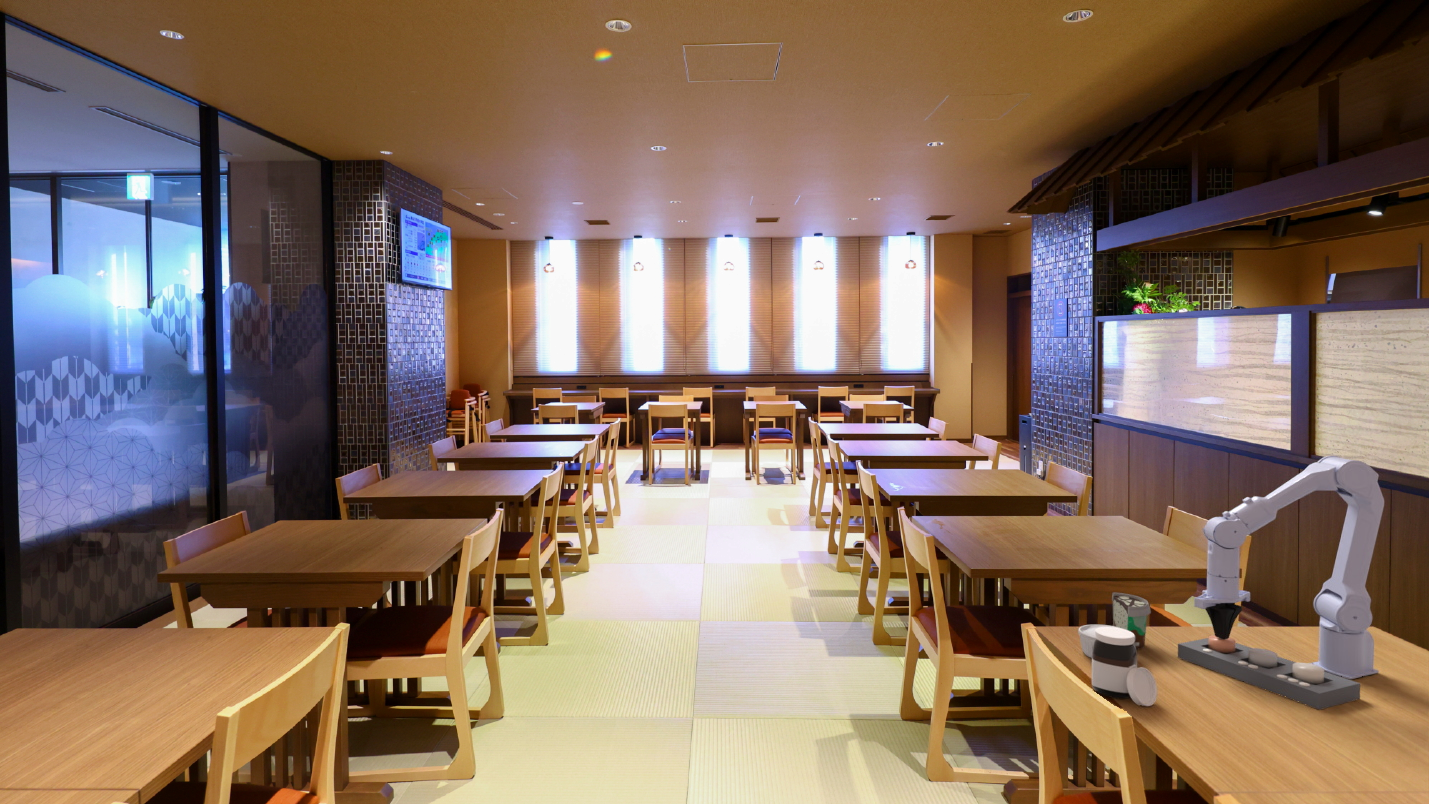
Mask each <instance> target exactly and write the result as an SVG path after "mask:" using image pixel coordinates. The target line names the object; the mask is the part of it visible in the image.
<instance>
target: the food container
mask: <svg viewBox="0 0 1429 804" xmlns="http://www.w3.org/2000/svg"><path fill="white" fill-rule="evenodd" d="M1111 601H1112V619H1113V620H1112V623H1113V624H1112V626H1115V627H1119V628H1123V629H1126V630H1128V631H1130V632H1132V633H1133V634H1134V635H1135V642H1134V645H1135V647H1136V650H1140V649H1143V648H1144V647H1145V642H1146V633H1147V623H1148V622H1147V621H1148V620H1147V619H1148V616H1149V615H1150V614H1151V613H1152V611H1151V610H1152V609H1151V606H1150V604H1149V602H1148V600H1147V599H1144V598H1143V597H1140V596H1137V595H1134V594H1128V593H1123V592H1112V596H1111Z"/></svg>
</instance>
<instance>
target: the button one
mask: <svg viewBox="0 0 1429 804" xmlns="http://www.w3.org/2000/svg"><path fill="white" fill-rule="evenodd" d="M1208 638H1209V645H1208V647H1209V649H1211V650H1214V651H1217V652H1221V653H1235V644H1236V643H1237V641H1236V640H1235V639H1234V638H1232V637H1230V636H1229V638H1228V639H1221V638H1218V637H1215V634H1214V635H1212V634H1211V635H1209V636H1208Z"/></svg>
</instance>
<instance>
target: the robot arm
mask: <svg viewBox="0 0 1429 804" xmlns="http://www.w3.org/2000/svg"><path fill="white" fill-rule="evenodd" d="M1379 476H1380V475H1379V474H1378V473H1377V471H1375V470H1374V469H1373V468H1372V467H1371V466H1370V465H1369V464H1367V463H1366V462H1365V461H1362V460H1354V459H1353V460H1352V459H1348V458H1343V457H1340V456H1337V455H1327V456H1324V457H1322V458H1320V459H1319V460H1318V461H1317V462H1313V463H1310V464H1308V466H1307V467H1306V468H1305V469H1304V470H1303V471H1301V472H1300V473H1297V475H1295V476H1294V477H1292V478H1291V479H1290V480H1287V482H1285V483H1283V484H1282V485H1281V486H1279V487H1277V488H1276V489H1275V490H1273V491H1272V492H1270V493H1268V494H1267V495H1266V496H1264V497H1263V496H1257V495H1256V496H1255V495H1253V497H1249V496H1247V497H1245V498H1244V499H1243V498H1242V503H1240V504H1239V505H1237V506H1236V507H1234V508H1232V509H1231V510H1229V511H1227V510H1225V511H1224V512H1222V513H1221V514H1222V516H1215V517H1212V518H1210V519H1209V520H1207V522H1206V524H1205V525H1204V527H1203V528H1202V533H1203V535H1204V537H1205V538H1206V539H1207V557H1206V558H1207V560H1206V561H1207V563H1206V565H1207V567H1206V589H1205V590H1202V592H1201V593H1202V594H1201V595H1198V596H1195V597H1194V598H1193V599H1194V600H1193V601H1194V604H1193V605H1194V607H1195V608H1198V609H1201V610H1205V611H1206V613H1207V615H1208V617H1209V619H1210V622H1211V626H1212V629H1213V632H1214V635H1215V637H1218V638H1221V639H1228V638H1229V637H1230V635H1231V632H1232V629H1233V626H1234V623H1235V621H1236V620H1237V618H1238V616H1239V615H1240V614H1241V613H1242V611H1243V606H1241V605H1238V604H1236V603H1239V602H1250V601H1251V592H1250V591H1247V590H1242V589H1241V590H1240V561H1241V560H1240V559H1241V558H1240V547H1241V546H1242V545H1243V544H1244V543H1245V541H1246V539H1247V537H1248V536H1249V535H1251V534H1252V533H1254V532H1257V530H1259V529H1261V528H1263V527H1264V526H1266V525H1267V524H1269V523H1271V522H1273V521H1274V520H1276V518H1277V514H1278V511H1279V510H1281V509H1283V508H1285V507H1286V506H1288V505H1290V504H1292V503H1294V502H1295V501H1297V500H1298V501H1299V499H1302V498H1304V497H1305V496H1308V495H1309V494H1311V493H1313V492H1316V491H1335V492H1337V494H1338V495H1339V497H1340V498H1342V499H1343V501H1344V502H1346V504H1347V509H1346V515H1345V518H1344V523H1343V527H1342V531H1341V537H1340V541H1339V543H1338V544H1339V545H1338V549H1337V553H1336V558H1335V562H1334V565H1333V571H1332V575H1331V577H1330V578H1328V579H1327V580H1326V581H1325V582H1323V584H1322V588H1321V590H1320V591H1319V593H1318V594H1316V596H1315V597H1314V599H1313V609H1314V611H1315V613H1316V614H1317V615H1319V634H1318V635H1319V636H1318V637H1319V638H1318V639H1319V640H1318V660H1317V661H1314V662H1310V663H1308V664H1313V665H1316V666H1319V667H1321V668H1323V669H1324V672H1327V673H1330V674H1333V675H1336V676H1339V677H1341V676H1342V678H1345V679H1349V680H1353V679H1354V680H1355V679H1357V678H1362V676H1363V677H1366V676H1370V675H1374V674H1379V670H1378V669H1376V668H1374V664H1375V663H1374V660H1375V659H1374V658H1375V640H1374V638H1373V635H1372V634H1371V632H1370V631H1369V630H1368V628H1369V627H1370V626H1371V624H1372V621H1373V613H1372V611H1371V603H1372V599H1371V597H1370V594H1369V592H1368V591H1367V587H1366V584H1367V583H1366V582H1367V578H1368V574H1369V569H1370V565H1371V563H1372V558H1373V554H1374V549H1375V546H1376V541H1377V537H1378V532H1379V528H1380V524H1381V520H1382V517H1383V516H1382V515H1383V511H1384V507H1385V498H1384V496H1383V493H1382V490H1381V487H1380V485H1379V482H1378V480H1379Z"/></svg>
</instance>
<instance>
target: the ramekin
mask: <svg viewBox="0 0 1429 804" xmlns="http://www.w3.org/2000/svg"><path fill="white" fill-rule="evenodd" d="M1099 627H1115V626H1113V625H1107V624H1086V625H1081V626H1080V627H1079V628H1078V636H1079V640H1080V646H1081V650H1082V653H1083V654H1084V655H1085V656H1086V657H1089V658H1090V659H1092V647H1093V644H1094V641H1095V639H1096V638H1095V629H1097V628H1099ZM1115 628H1119V627H1115ZM1121 629H1123V628H1121ZM1125 630H1126V629H1125ZM1134 642H1135V635H1134Z"/></svg>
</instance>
